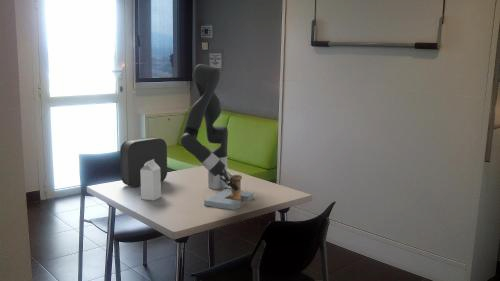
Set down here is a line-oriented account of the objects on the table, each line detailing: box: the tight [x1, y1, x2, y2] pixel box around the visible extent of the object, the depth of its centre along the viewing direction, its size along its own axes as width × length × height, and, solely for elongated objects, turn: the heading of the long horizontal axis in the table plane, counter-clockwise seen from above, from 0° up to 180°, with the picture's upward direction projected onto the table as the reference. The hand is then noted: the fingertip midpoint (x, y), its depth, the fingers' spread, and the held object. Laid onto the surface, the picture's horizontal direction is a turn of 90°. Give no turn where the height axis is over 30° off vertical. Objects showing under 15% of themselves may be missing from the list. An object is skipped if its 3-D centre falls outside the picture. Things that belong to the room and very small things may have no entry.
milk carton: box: [140, 159, 162, 201], centre depth 236 cm, size 7×7×19 cm
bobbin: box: [230, 174, 243, 204], centre depth 231 cm, size 6×6×13 cm
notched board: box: [203, 188, 255, 211], centre depth 233 cm, size 16×22×2 cm
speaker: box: [119, 136, 168, 188], centre depth 262 cm, size 25×9×25 cm, turn 136°
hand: (237, 187), depth 231 cm, fingers open, 8 cm apart
